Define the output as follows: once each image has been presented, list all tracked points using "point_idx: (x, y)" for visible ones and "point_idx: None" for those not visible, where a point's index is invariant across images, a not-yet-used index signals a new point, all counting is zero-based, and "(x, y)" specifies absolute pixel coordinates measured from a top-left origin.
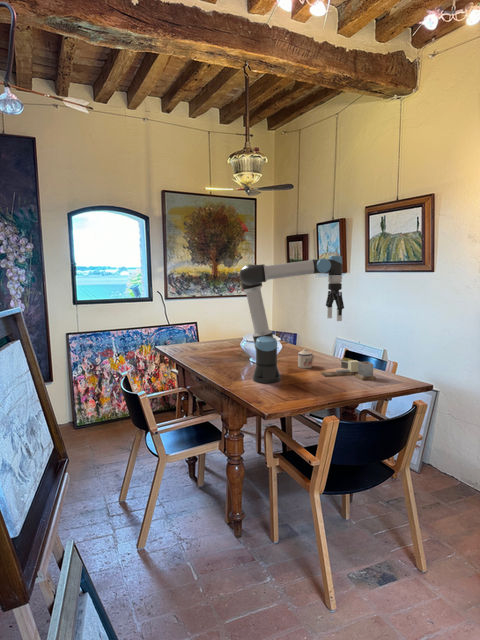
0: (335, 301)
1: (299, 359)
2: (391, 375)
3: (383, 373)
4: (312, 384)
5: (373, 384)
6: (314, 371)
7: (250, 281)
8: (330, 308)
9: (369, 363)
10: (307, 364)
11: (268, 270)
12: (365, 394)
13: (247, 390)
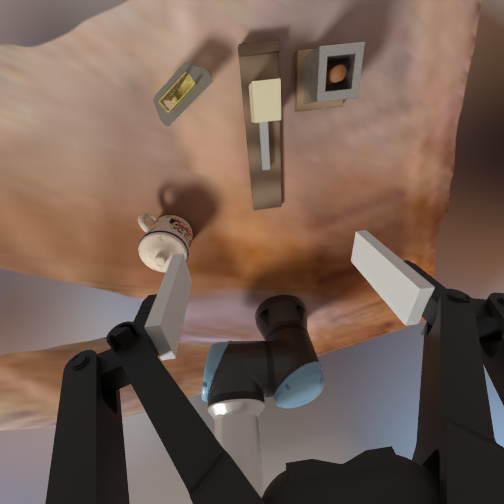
0: (420, 422)
1: None
2: None
3: None
4: (333, 245)
5: (388, 87)
6: (224, 218)
7: None
8: (169, 329)
9: (347, 54)
10: (190, 235)
11: None
12: (444, 153)
13: (332, 336)
